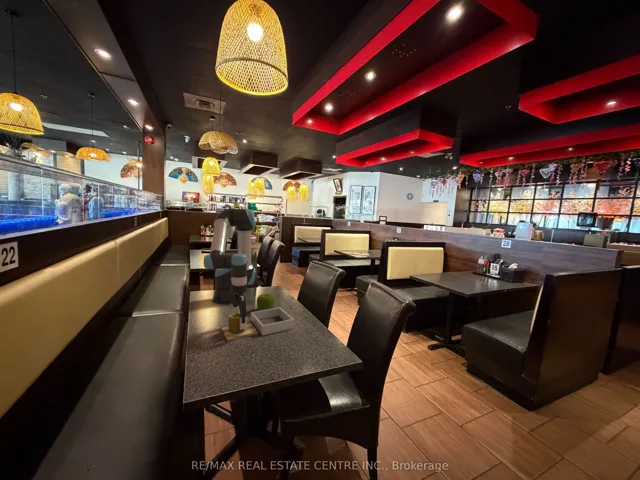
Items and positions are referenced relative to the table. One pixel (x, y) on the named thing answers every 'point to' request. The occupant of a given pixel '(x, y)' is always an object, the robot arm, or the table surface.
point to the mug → (235, 323)
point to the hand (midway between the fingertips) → (239, 323)
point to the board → (232, 336)
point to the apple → (265, 302)
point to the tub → (272, 327)
